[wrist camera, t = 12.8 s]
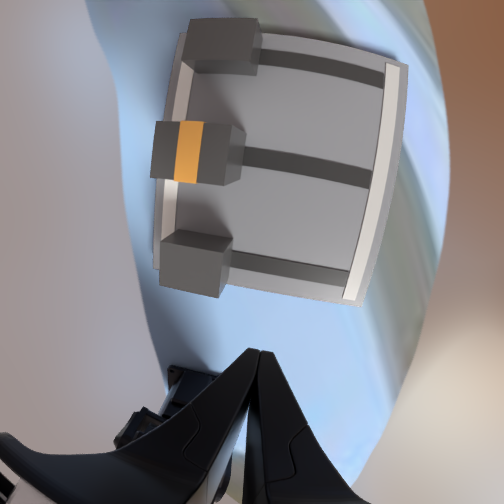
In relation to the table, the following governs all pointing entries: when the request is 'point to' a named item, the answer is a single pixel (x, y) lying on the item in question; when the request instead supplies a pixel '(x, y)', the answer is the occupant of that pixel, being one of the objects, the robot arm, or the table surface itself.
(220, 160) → the block
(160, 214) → the panel
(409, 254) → the table surface
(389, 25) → the table surface
